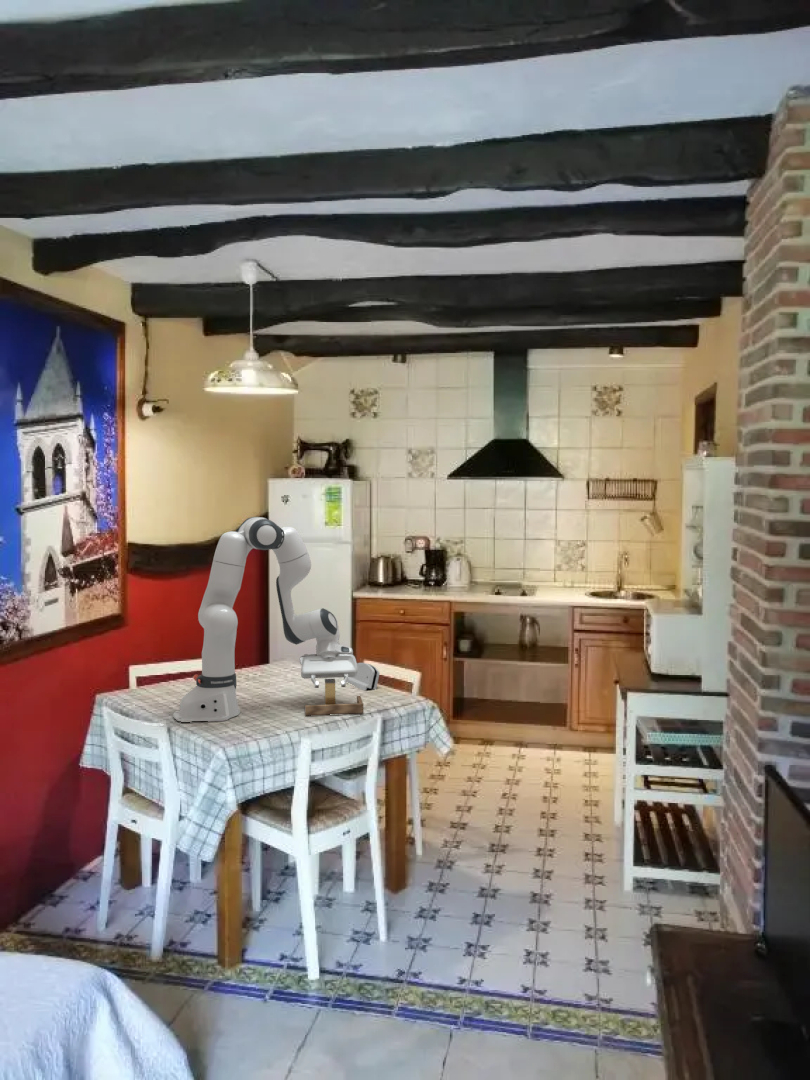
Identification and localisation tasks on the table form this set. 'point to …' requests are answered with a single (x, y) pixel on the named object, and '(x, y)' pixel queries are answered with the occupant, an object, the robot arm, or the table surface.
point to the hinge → (365, 677)
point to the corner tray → (335, 708)
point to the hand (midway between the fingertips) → (330, 686)
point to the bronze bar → (329, 691)
